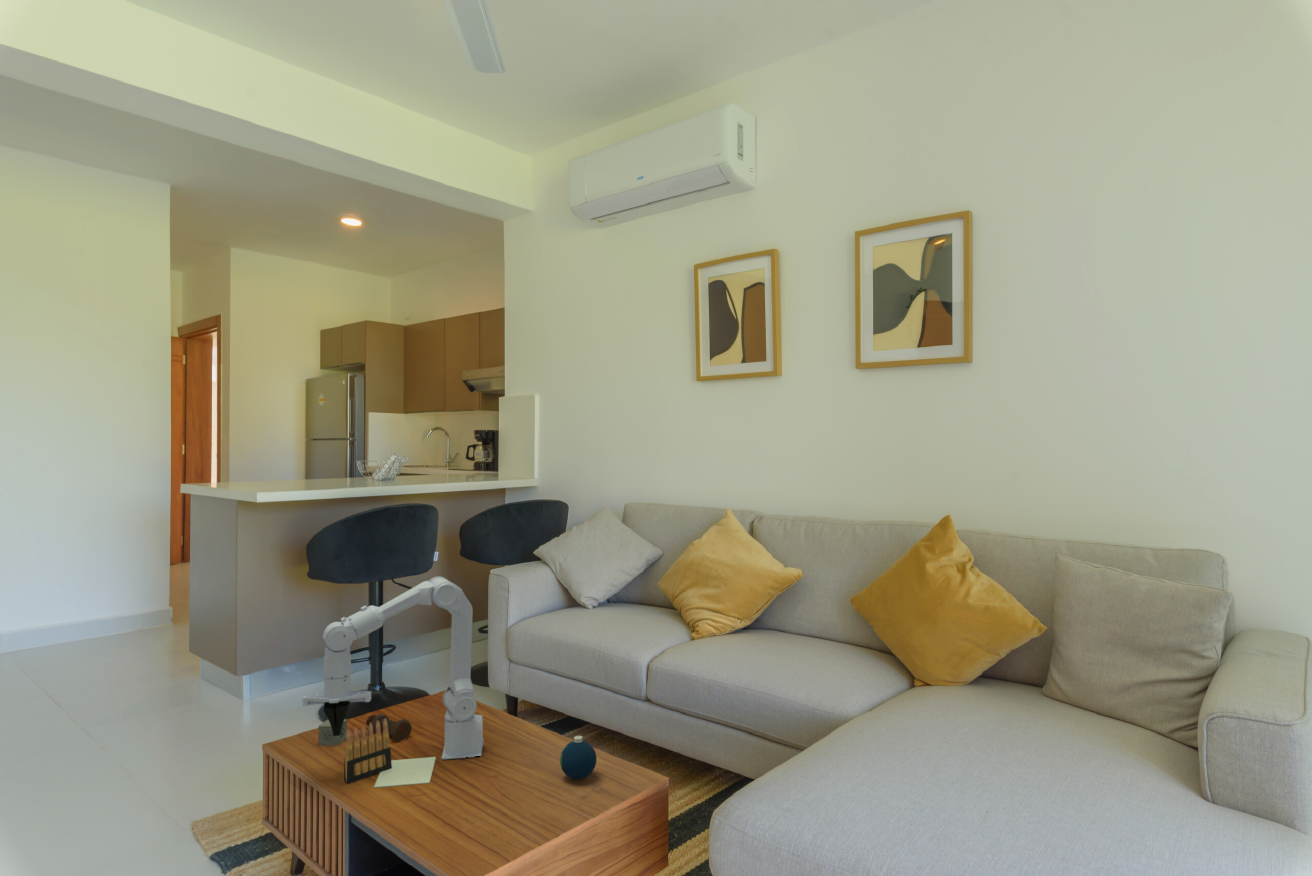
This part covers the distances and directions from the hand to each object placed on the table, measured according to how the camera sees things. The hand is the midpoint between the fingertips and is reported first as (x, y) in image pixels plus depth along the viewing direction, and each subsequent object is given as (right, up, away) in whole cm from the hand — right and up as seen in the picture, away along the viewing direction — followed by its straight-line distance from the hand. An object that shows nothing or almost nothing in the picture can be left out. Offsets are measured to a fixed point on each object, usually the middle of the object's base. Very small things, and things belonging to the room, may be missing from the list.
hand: (337, 734), depth 170 cm
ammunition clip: (+7, -10, +1) cm, 12 cm away
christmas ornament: (+56, -10, 0) cm, 57 cm away
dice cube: (-10, -11, +21) cm, 26 cm away
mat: (+15, -10, +3) cm, 18 cm away
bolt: (+2, -11, +26) cm, 29 cm away
